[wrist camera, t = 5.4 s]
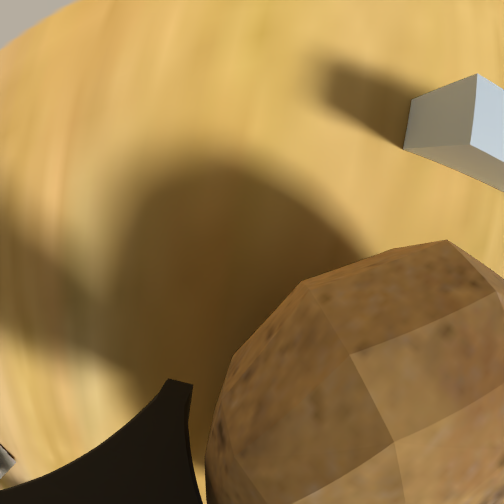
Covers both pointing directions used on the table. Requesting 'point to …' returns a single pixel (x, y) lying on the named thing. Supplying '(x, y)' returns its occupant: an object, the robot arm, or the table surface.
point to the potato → (369, 389)
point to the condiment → (5, 462)
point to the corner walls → (461, 128)
